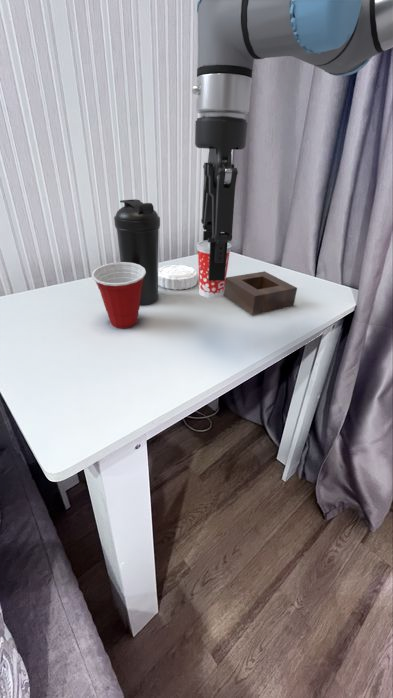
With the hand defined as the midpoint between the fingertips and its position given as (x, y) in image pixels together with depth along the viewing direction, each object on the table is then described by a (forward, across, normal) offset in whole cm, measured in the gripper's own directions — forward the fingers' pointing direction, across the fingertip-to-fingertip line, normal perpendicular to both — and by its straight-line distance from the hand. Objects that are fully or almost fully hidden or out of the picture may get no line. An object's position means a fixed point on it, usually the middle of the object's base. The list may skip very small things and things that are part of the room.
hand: (212, 272), depth 60 cm
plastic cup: (+15, -10, -17) cm, 25 cm away
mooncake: (+15, -34, -3) cm, 37 cm away
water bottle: (+15, -23, -13) cm, 31 cm away
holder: (+15, -20, +17) cm, 30 cm away
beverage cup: (+4, 0, 0) cm, 4 cm away
